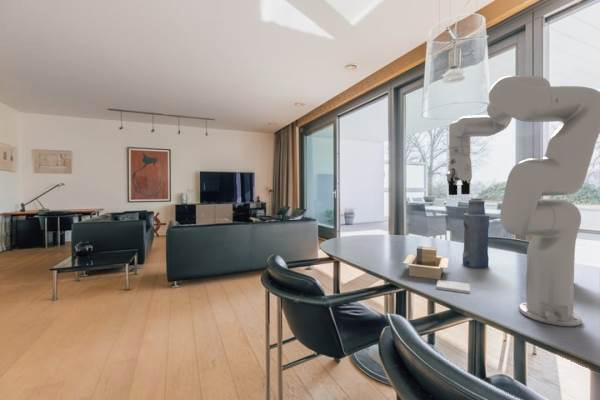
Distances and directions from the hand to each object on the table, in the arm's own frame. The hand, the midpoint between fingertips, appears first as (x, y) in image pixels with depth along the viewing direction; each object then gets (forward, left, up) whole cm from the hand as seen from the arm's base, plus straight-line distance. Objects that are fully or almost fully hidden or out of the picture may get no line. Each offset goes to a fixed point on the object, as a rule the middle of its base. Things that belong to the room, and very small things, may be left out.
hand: (459, 194), depth 115 cm
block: (-6, +12, -32) cm, 35 cm away
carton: (-6, +12, -32) cm, 35 cm away
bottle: (+14, -6, -32) cm, 36 cm away
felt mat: (-21, +2, -32) cm, 38 cm away
